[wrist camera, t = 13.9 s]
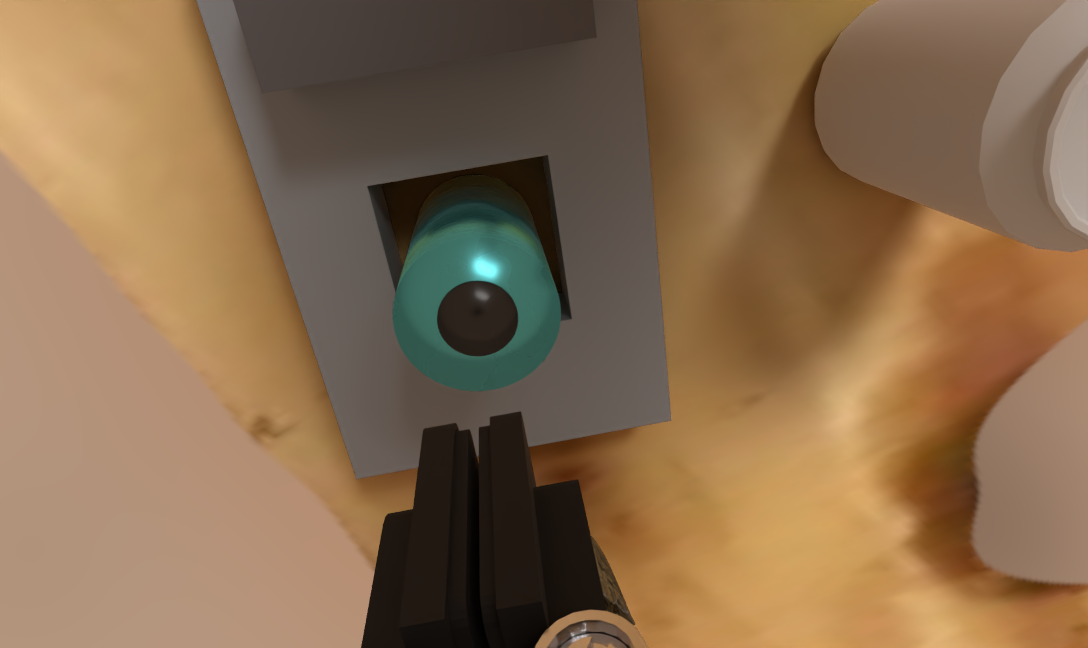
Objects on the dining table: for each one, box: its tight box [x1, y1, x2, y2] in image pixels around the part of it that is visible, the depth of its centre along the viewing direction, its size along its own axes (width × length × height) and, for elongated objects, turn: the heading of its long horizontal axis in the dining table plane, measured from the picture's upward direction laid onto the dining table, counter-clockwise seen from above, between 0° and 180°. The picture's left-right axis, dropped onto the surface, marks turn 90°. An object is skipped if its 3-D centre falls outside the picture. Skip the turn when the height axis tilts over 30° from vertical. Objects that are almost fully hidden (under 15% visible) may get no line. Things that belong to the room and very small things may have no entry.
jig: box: [196, 0, 671, 479], centre depth 24 cm, size 22×14×6 cm, turn 9°
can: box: [815, 0, 1088, 252], centre depth 22 cm, size 8×8×12 cm
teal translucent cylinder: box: [392, 174, 561, 391], centre depth 24 cm, size 5×5×9 cm
